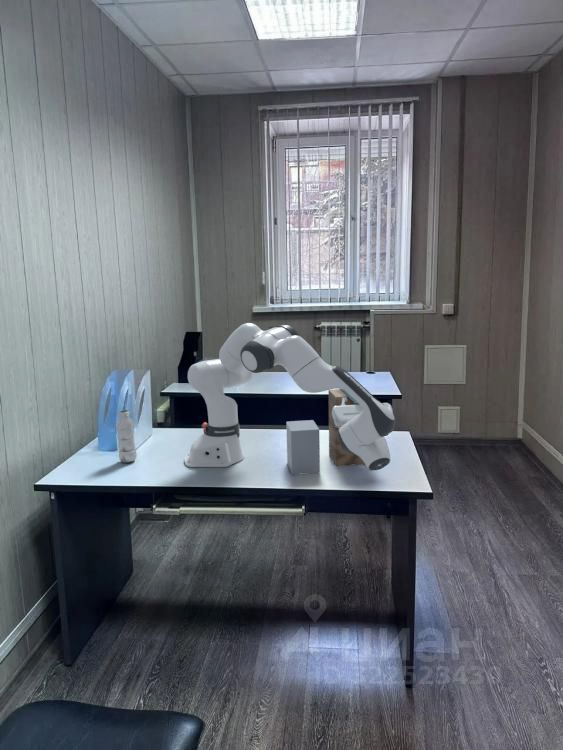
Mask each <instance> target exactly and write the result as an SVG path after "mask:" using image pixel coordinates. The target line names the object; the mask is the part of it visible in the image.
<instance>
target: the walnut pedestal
mask: <svg viewBox="0 0 563 750" xmlns="http://www.w3.org/2000/svg"><path fill="white" fill-rule="evenodd" d="M342 398H347V404H346V405H360V404H359V403H354V402H353V401H352V400H351V399H350V398H349V397H348V396H347V395H346V394H345V393H344V392H343V391H342V390H341V389H330V390H328V456H329V457H330V459H331V461H332V462H333V464H334V466H335V467H346V466H358V465H359V466H360V465H361V464H362V465H365V463H364V462H363V460H362V459H361V458H360V457H359V456H355V455H352V454H349V453H347V452H346V451H344V450H343V448H342V447H341V445H340V443H339V439H338V430H339V428H337V427H336V426H335V424H334V419H333V417H332V409H333V407H334V406H341V404H342Z"/></svg>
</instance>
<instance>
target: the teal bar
mask: <svg viewBox="0 0 563 750" xmlns="http://www.w3.org/2000/svg"><path fill="white" fill-rule="evenodd" d="M341 390H342V391H343V392H344V393H345V394H346V395H347V396H348V397H349V398H350V399H351V400H352V401H353V402H354V403H358V402H357V401H356V400H355V399H354V398H353V397H352V396H351V395H350V394H348V393H347V392H346V391H345V390H343V389H341Z"/></svg>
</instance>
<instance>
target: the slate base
mask: <svg viewBox="0 0 563 750" xmlns="http://www.w3.org/2000/svg"><path fill="white" fill-rule="evenodd" d="M285 424H286V427H285V428H286V457H287V458H286V460H287V461H286V462H287V465H288V467H289V470H290V473H291V475H292V474H294V475H301V474H300V473H308V474H318V472H320V473H321V467H320V466H321V464H320V463H321V461H320V459H321V458H320V456H321V454H320V453H321V451H320V449H321V447H320V445H321V444H320V428H319V426H318V425H317V424H316V422H315V421H314V419H310V420H294V421H293V420H291V421H286V423H285Z"/></svg>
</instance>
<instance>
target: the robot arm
mask: <svg viewBox="0 0 563 750" xmlns="http://www.w3.org/2000/svg"><path fill="white" fill-rule="evenodd" d="M218 352H219V353H218V356H219V357H218V358H217V359H209V360H208V359H207V360H201V361H199V362H196V363H194V364H192V365H191V366H190V367H189V368H188V370H187V381H188V384H189V386H191V388H192V389H194V390H195V391H196V392H198V393H199V394H200V395H201V396H202V397H203V399H204V401H205V404H206V409H207V416H208V417H207V418H208V423H207V422H206V421H205V422H203V423H202V428H203V434H202V435H200V436H199V437H197V438H196V440H194V441H193V442H192V444H191V445H190V449H189V453H187V454H186V455H185V456H184V465H185V466H186V467H188V468H227V467H230V466H231V465H233V464H238V463H239V462H241V461H243V459H244V458H245V457H244V454H243V451H242V447H241V442H240V441H241V440H240V435H241V432H240V431H241V429H240V427H241V426H240V422H239V418H238V417H239V416H238V404H237V402H236V400H235V399H234V398H232V397H230V396H227V395H225V392H224V388H231V387H237V386H241V385H243V384H246V383H248V382H250V381H251V380H252V378H253V375H254V374H260V373H263V372H267V371H269V370H273V369H274V367H275V366H277V365H279V366H281V367H283V368H284V369H285V370H286V372H287V373H288V375H289V376H290V378H291V379H292V381H293V382H294V384H296V385H297V387H299V388H300V390H302V391H303V392H306V393H310V394H317V393H322V392H325V391H329V390H334V389H343V390H345V391H346V392H347V393H348V394H350V395H351V396H352V397H353V398H354V399H355V400H356V401H357V402H358V403H359V404H360V405H346V404H347V398H342V404H341V406H334V407H333V409H332V417H333V419H334V424H335V426H336V427H337V428H339V430H338V439H339V443H340V445H341V447H342V448H343V450H344V451H346V452H347V453H349V454H352V455H355V456H359V457H360V458H361V459H362V460H363V462H364V463H365V464H364V465H365V466H366V468H367V469H368V470H370V471H379V470H381V469H384V468H385V467H387V466H388V465H389V464H390V462H391V451H390V449H389V448H390V447H389V445H388V441H387V439H386V437H385V436H387V435H389V434H391V433H392V432H394V431H393V430H394V428H395V425H396V417H395V415H394V412H393V407H392V405H391V404H390V403H388V402H381V401H380V400H379V399H377V398H376V396H374V395H373V394H372V393H371V392H370V391H369V390H367V389H366V388H365V387H364V386H363V385H362V384H361V383H360V382H359V381H358V380H357V379H355V377H354V376H352V375H351V373H349V372H348V371H347V370H345V369H344V368H343V367H341V366H340V365H331V364H328V362H325V360H323V359H322V358H321V356H320V355H319V354H318V352H317V351H316V350H315V349H314V347H312V345H310V344H309V342H307V341H306V340H305V339H304V338H303V336H300V335H299V332H298V331H297V330H296V329H295V328H294V327H293V326H291V325H289V324H282V325H276V326H269V327H268V329H267V330H262V329H261V328H260V326H258V325H257V324H255V323H252V322H245V323H243V324H241V325H239V326H238V327H237V328H236V329H235V330H234V331H233V332H232V333H231V334H230V335H229V336H228V338H227V339H226V341H225V342H224V343H223V345H222V346H221V348H220V349H219V351H218Z"/></svg>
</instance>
